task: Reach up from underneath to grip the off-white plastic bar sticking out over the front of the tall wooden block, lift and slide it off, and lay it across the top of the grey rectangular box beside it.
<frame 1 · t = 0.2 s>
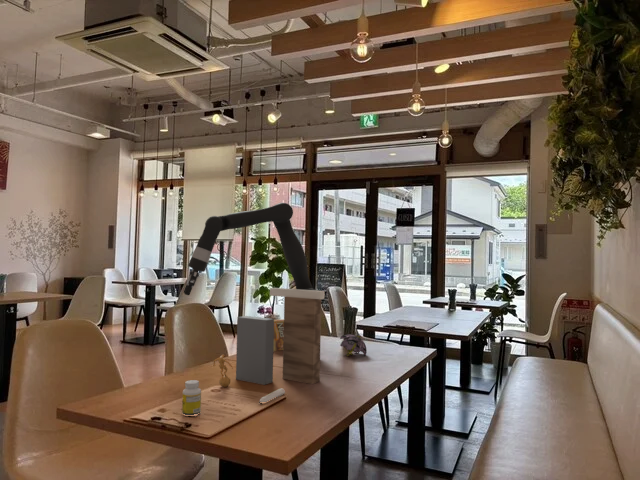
hand: (186, 294, 210), 31 cm above the table, tool tilted 20°, fingers open, 8 cm apart
tall wooden block: (300, 379, 190), on the table
decorative flower: (353, 356, 239), on the table
bar: (296, 297, 192), point 32 cm above the table, touching tall wooden block
figurine: (223, 387, 177), on the table
supplement bottle: (191, 415, 146), on the table
marker: (270, 401, 163), on the table
grey rectangular box: (254, 380, 187), on the table
candy box: (277, 350, 249), on the table
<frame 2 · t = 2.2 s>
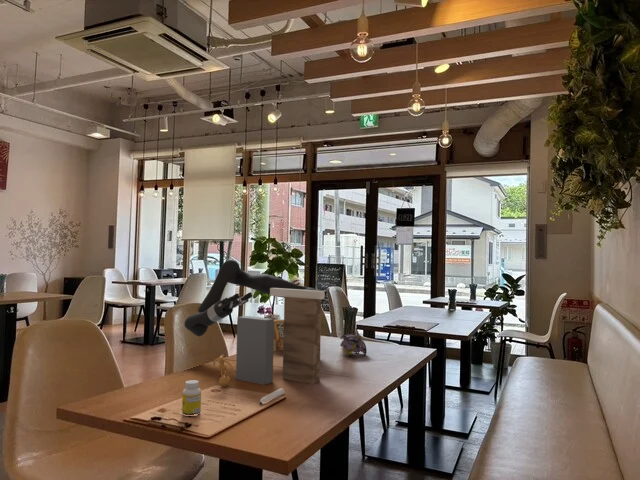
hand: (245, 294, 210), 31 cm above the table, tool pointing upward, fingers open, 8 cm apart
nothing on the table moved.
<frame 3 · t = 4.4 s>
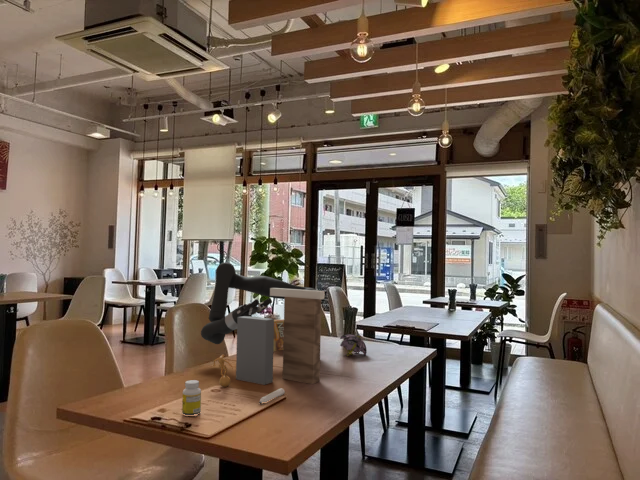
hand: (264, 300, 201), 30 cm above the table, tool pointing upward, fingers open, 8 cm apart
nothing on the table moved.
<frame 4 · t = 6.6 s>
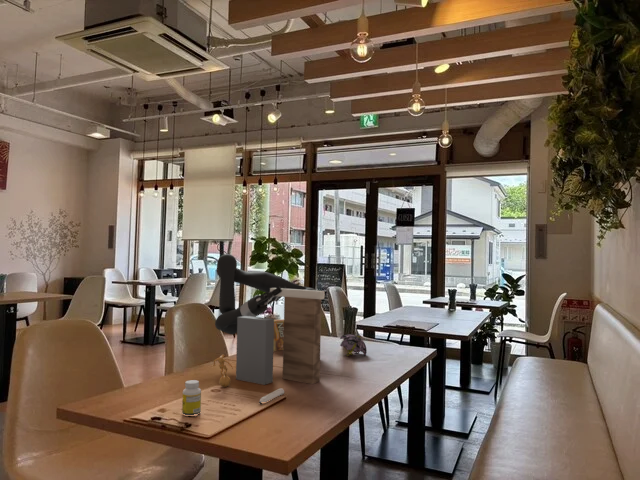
hand: (283, 288, 196), 35 cm above the table, tool pointing upward, fingers closed on bar, 3 cm apart
bar: (296, 297, 192), point 32 cm above the table, touching gripper, tall wooden block
everything else where it was.
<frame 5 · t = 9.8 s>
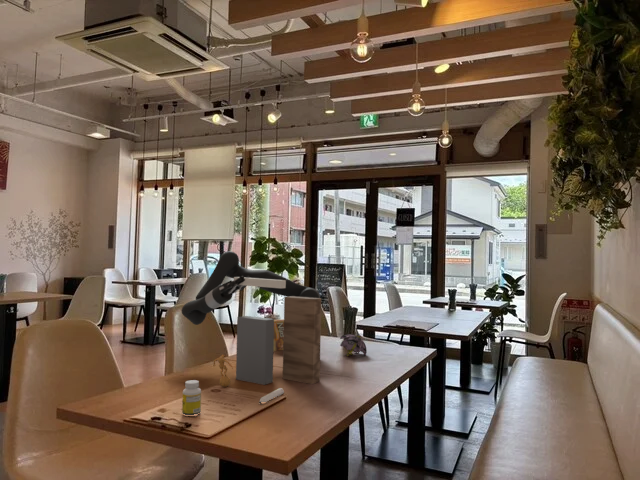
hand: (246, 277, 197), 39 cm above the table, tool pointing upward, fingers closed on bar, 3 cm apart
bar: (258, 286, 193), point 36 cm above the table, touching gripper
everything else where it was.
when the fingers open (28 cm above the table, at t = 13.0 s): bar drops 1 cm, resting on grey rectangular box.
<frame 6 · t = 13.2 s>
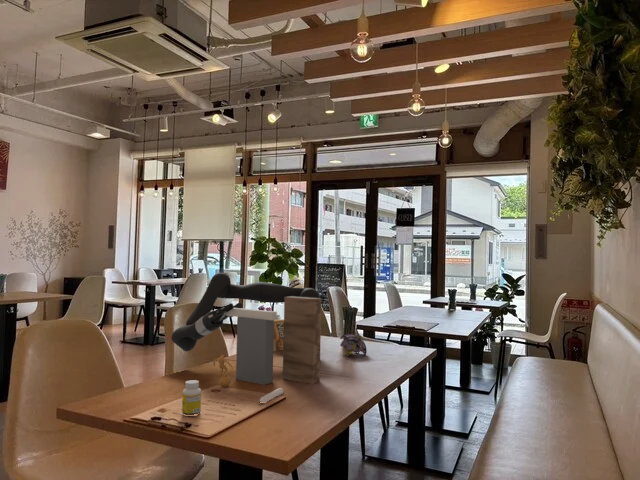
hand: (236, 304, 193), 28 cm above the table, tool pointing upward, fingers open, 4 cm apart
bar: (249, 317, 190), point 24 cm above the table, touching grey rectangular box
everything else where it was.
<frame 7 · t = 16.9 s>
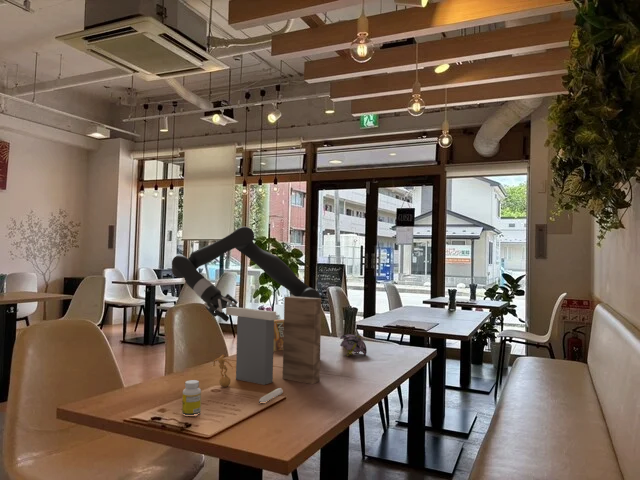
hand: (234, 316, 199), 23 cm above the table, tool tilted 55°, fingers open, 8 cm apart
bar: (250, 317, 190), point 24 cm above the table
everything else where it was.
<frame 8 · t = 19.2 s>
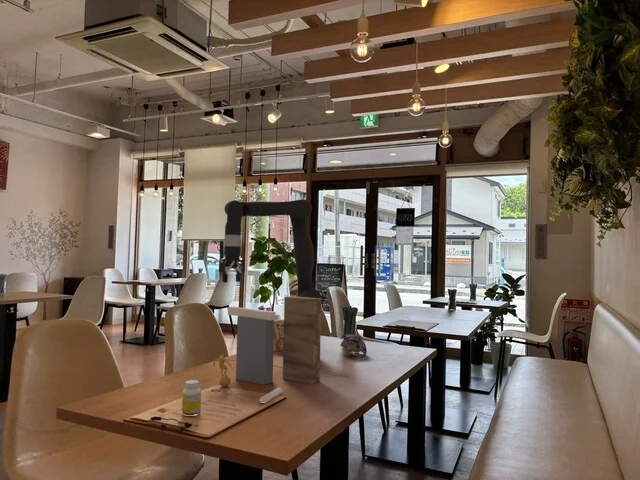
hand: (231, 282, 215), 36 cm above the table, tool pointing down, fingers open, 8 cm apart
bar: (250, 317, 191), point 24 cm above the table, touching grey rectangular box
everything else where it was.
at the end: bar inside the target area (1.0 cm from its centre), point 24.0 cm above the table; bar tilted 0°; the gripper is holding nothing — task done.
